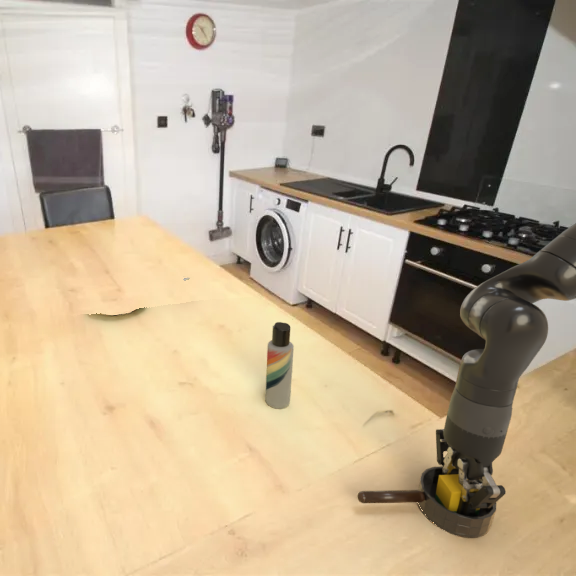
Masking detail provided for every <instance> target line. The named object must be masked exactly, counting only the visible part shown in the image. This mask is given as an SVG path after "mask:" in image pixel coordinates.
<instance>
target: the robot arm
mask: <svg viewBox="0 0 576 576" xmlns="http://www.w3.org/2000/svg"><path fill="white" fill-rule="evenodd" d="M547 299H548V300H557V301H562V302H563V301H565V302H569V301H573V300H575V299H576V222H575V223H574V224H572V225H570V226H569V227H568V228H566V229H565V230H563V231H562V232H561V233H560V234H558V235H557V236H556V237H555V238H553V239H552V240H551V241H550V242H548V243H547V244H546V245H545V246H543V247H542V248H541V249H539V251H537V252H536V253H535V254H534V255H533V256H532V257H530V258H529V259H527V260H526V261H523V262H520V263H518V264H516V265H514V266H512V267H510V268H508V269H507V270H505V271H502V272H501V273H499V274H496V275H495V276H493V277H491V278H489V279H487V280H485V281H483V282H482V283H480V284H478V285H477V286H476V287H474V288H473V289H471V291H470V292H468V294H467V295H466V296H465V298H464V299H463V301H462V303H461V306H460V309H459V313H460V314H459V317H460V319H461V321H462V323H463V324H464V325H465V326H466V327H467V328H468V329H470V330H471V331H473V333H475V334H476V335H478V336H479V337H481V338H482V339H483V340H484V341H485V344H484V345H485V346H484V348H476V349H470V350H468V351H467V352H465V353H464V355H463V356H462V358H461V360H460V363H459V366H458V371H457V376H456V380H455V385H454V388H453V391H452V393H451V396H450V399H449V403H448V409H447V412H446V417H445V423H444V426H443V428H440V429H439V428H437V429H435V445H436V446H435V447H436V449H435V450H436V462H437V464H438V465H439V466H441V467H443V469H442V472H443V474H444V475H452V474H459V481H458V482H459V484H460V485H461V497H460V501H459V505H458V509H457V513H458V514H460V515H465V516H469V517H474V515H475V511H476V508H490V507H492V506H493V505H494V504H495V503H496V504H497V502H498V501H500V500H501V498H503V497H504V496H505V495H506V494H507V493H506V492H507V491H506V488H505V486H503V485H501V484H500V485H499V484H497V483H496V481H495V480H494V477H493V476H492V475H493V472H494V469H493V462H494V461H495V460H496V459H497V458H499V456H501V454H502V453H503V448H504V445H505V441H506V438H507V434H508V430H509V426H510V423H511V419H512V415H513V405H514V401H515V396H516V394H517V389H518V385H519V381H520V378H521V376H523V374H524V372H525V371H526V370H527V369H528V368H529V366H530V364H531V363H532V361H533V360H534V359H535V358H536V356H537V355H538V353H539V352H540V351H541V350H542V348H543V347H544V345H545V343H546V341H547V339H548V335H549V322H548V321H549V320H548V318H547V316H546V313H545V312H544V311H543V310H542V309H541V308H540V307H539V306H538V305H536V304H534V303H537V302H539V301H543V300H547ZM445 452H447V453H446V455H445V456H444V453H445ZM467 479H468V480H467ZM470 489H474V493H469V491H470Z"/></svg>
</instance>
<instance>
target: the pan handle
mask: <svg viewBox="0 0 576 576" xmlns="http://www.w3.org/2000/svg"><path fill="white" fill-rule="evenodd" d="M356 496H357V497H356V498H357V500H358V502H359V503H361V504H409V503H417V502H423V501H424V500H425V495H424V493H423V492H422V491H420V490H418V489H404V490H403V489H402V490H359V492H358V493H357V495H356Z"/></svg>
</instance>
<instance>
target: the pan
mask: <svg viewBox="0 0 576 576" xmlns="http://www.w3.org/2000/svg"><path fill="white" fill-rule="evenodd" d="M442 469H443V466H432V467H428V468H426V469H425V470H424V471H423V472H422V473H421V475H420V479H419V484H418V488H417V490H420V491H422V492H423V493H424V495H425V500H424V501H423V502H418V503H419V505H420V507H421V509H422V510H423V512H424V513H425V514H426V516H427V517H428V518H429V519H430V520H431V521H432V522H434V524H433V525H435V524H436V525H437V526H436V525H435V526H436V527H438V528H439V527H440V528H439V529H441V530H442V529H443V530H442V531H444V530H445V531H444V532H446V531H447V532H446V533H448V532H449V534H451V535H453V534H454V536H456V535H457V537H461V538H465V539H466V538H467V539H477V538H482V537H483V536H485V535H487V534H488V533H489V531H490V529H491V527H492V525H493V522H494V518H495V515H496V512H497V502H496V503H495V504H494V505H493V506H492V507H490V508H480V511H479V515H474V517H469V516H465V515H460V514H458V513H455V512H453V511H450V510H448V509H446V508H445V507H443V506H442V505H440V504H439V503H438V502H437V500H436V499H435V495H436V490H437V484H438V479H439V475H444V474H443V472H442ZM418 503H417V504H418ZM419 505H418V506H419ZM421 509H420V510H421ZM423 512H422V513H423ZM426 516H425V517H426ZM427 517H426V518H427ZM428 518H427V519H428ZM429 519H428V520H429ZM430 520H429V521H430ZM431 521H430V522H431ZM432 522H431V523H432Z"/></svg>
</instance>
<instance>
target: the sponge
mask: <svg viewBox="0 0 576 576" xmlns="http://www.w3.org/2000/svg"><path fill="white" fill-rule="evenodd" d="M467 480H468V479H467ZM458 481H459V474H452V475H439V479H438V484H437V490H436V495H435V499H436V500H437V502H438V503H439V504H440V505H442V506H443V507H445V508H446V509H448V510H450V511H453V512H455V513H457V509H458V505H459V501H460V497H461V485H460V484H459V482H458ZM469 493H474V489H470V491H469ZM479 511H480V508H476V511H475V515H479Z"/></svg>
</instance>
